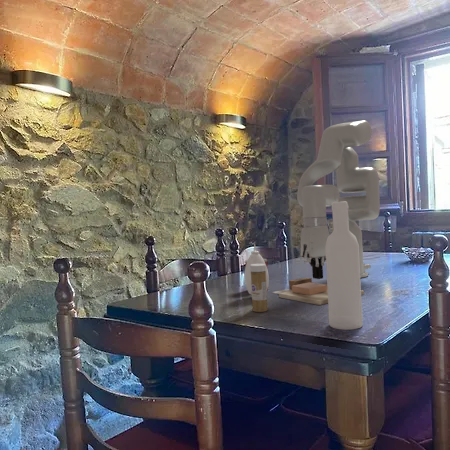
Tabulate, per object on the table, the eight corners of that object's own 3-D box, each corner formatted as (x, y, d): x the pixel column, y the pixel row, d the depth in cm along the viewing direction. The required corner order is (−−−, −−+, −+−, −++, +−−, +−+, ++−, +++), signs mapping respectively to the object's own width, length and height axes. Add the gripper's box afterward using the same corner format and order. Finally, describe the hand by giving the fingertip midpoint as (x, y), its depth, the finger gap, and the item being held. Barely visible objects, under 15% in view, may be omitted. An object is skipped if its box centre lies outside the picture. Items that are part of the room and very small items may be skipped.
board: (322, 287, 159) (322, 284, 159) (364, 294, 144) (363, 290, 144) (279, 297, 147) (279, 293, 147) (319, 305, 133) (319, 301, 133)
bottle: (353, 331, 104) (347, 201, 103) (323, 327, 109) (316, 203, 108) (368, 323, 110) (362, 200, 108) (338, 319, 115) (332, 202, 114)
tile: (309, 282, 152) (291, 285, 148) (327, 284, 146) (309, 288, 141) (309, 288, 152) (292, 292, 148) (327, 291, 146) (309, 295, 141)
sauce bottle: (253, 301, 143) (250, 244, 143) (241, 297, 150) (238, 243, 150) (274, 297, 147) (271, 242, 146) (261, 294, 154) (258, 241, 153)
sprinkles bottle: (249, 311, 130) (246, 265, 129) (258, 308, 133) (255, 262, 133) (262, 313, 127) (259, 265, 126) (271, 309, 130) (268, 263, 130)
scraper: (304, 286, 163) (303, 277, 163) (314, 288, 159) (313, 278, 159) (272, 293, 155) (271, 283, 155) (282, 295, 151) (281, 284, 151)
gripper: (322, 221, 156) (325, 274, 156) (290, 224, 147) (293, 280, 148) (339, 221, 149) (342, 276, 150) (306, 224, 141) (309, 282, 142)
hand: (317, 278), depth 149 cm, fingers closed
